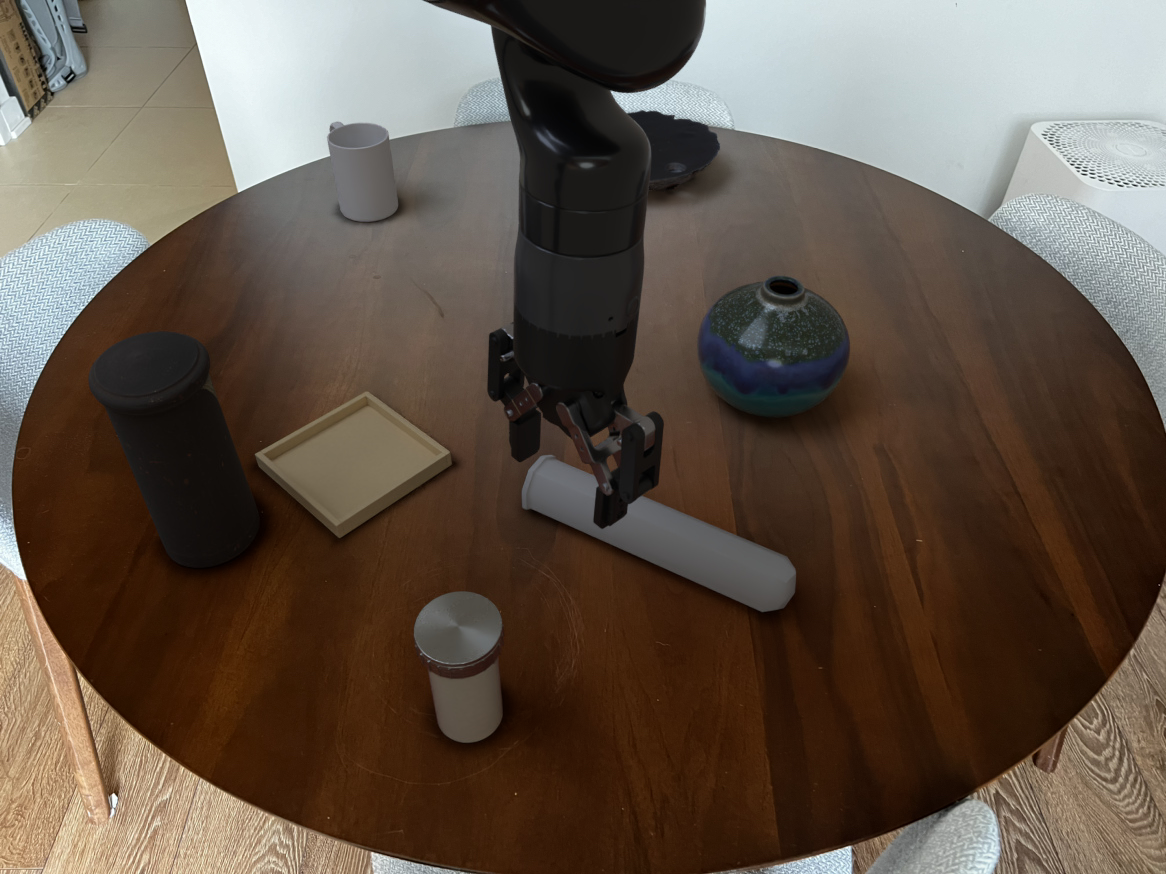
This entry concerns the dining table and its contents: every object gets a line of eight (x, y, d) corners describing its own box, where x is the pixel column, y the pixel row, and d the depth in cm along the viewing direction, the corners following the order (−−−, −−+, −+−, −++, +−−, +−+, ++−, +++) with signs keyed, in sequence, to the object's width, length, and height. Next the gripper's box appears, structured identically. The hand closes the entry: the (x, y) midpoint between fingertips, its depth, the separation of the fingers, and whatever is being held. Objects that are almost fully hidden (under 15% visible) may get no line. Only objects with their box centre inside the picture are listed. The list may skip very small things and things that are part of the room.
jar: (466, 756, 66) (454, 676, 59) (422, 713, 69) (406, 631, 62) (516, 711, 69) (510, 629, 62) (472, 672, 71) (462, 588, 64)
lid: (455, 697, 59) (453, 681, 58) (397, 643, 62) (394, 627, 61) (522, 640, 63) (521, 625, 61) (464, 591, 66) (462, 576, 64)
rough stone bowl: (725, 210, 126) (730, 176, 122) (568, 210, 125) (568, 175, 122) (707, 141, 142) (711, 109, 139) (567, 140, 142) (567, 108, 138)
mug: (409, 211, 125) (399, 138, 117) (356, 228, 121) (343, 154, 114) (368, 177, 132) (357, 106, 125) (317, 193, 128) (303, 120, 121)
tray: (339, 538, 81) (336, 526, 80) (258, 466, 88) (254, 454, 87) (452, 464, 88) (450, 451, 87) (369, 403, 95) (367, 390, 94)
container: (278, 500, 85) (223, 324, 71) (242, 576, 78) (174, 398, 64) (188, 493, 85) (116, 317, 72) (145, 568, 79) (57, 390, 65)
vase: (866, 394, 97) (896, 289, 88) (776, 462, 89) (799, 354, 80) (753, 331, 105) (770, 228, 96) (661, 388, 97) (671, 282, 88)
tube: (812, 552, 76) (555, 445, 84) (795, 581, 71) (525, 465, 80) (794, 603, 78) (546, 494, 87) (776, 634, 74) (516, 516, 82)
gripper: (451, 264, 55) (460, 458, 66) (618, 377, 48) (598, 573, 59) (543, 226, 59) (538, 414, 70) (710, 324, 52) (675, 517, 63)
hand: (565, 487), depth 64 cm, fingers open, 8 cm apart
